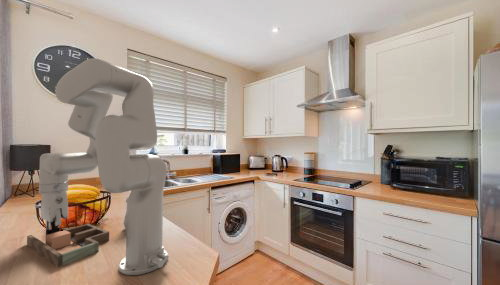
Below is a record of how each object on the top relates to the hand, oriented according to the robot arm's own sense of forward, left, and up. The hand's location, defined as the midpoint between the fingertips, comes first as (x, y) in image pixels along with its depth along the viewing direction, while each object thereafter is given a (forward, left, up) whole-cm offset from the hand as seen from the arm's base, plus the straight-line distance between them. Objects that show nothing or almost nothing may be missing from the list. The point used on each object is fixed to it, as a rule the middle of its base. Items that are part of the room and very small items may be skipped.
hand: (52, 239), depth 72 cm
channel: (-8, -3, -1) cm, 8 cm away
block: (-5, 0, -1) cm, 5 cm away
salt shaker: (-11, -22, -1) cm, 24 cm away
